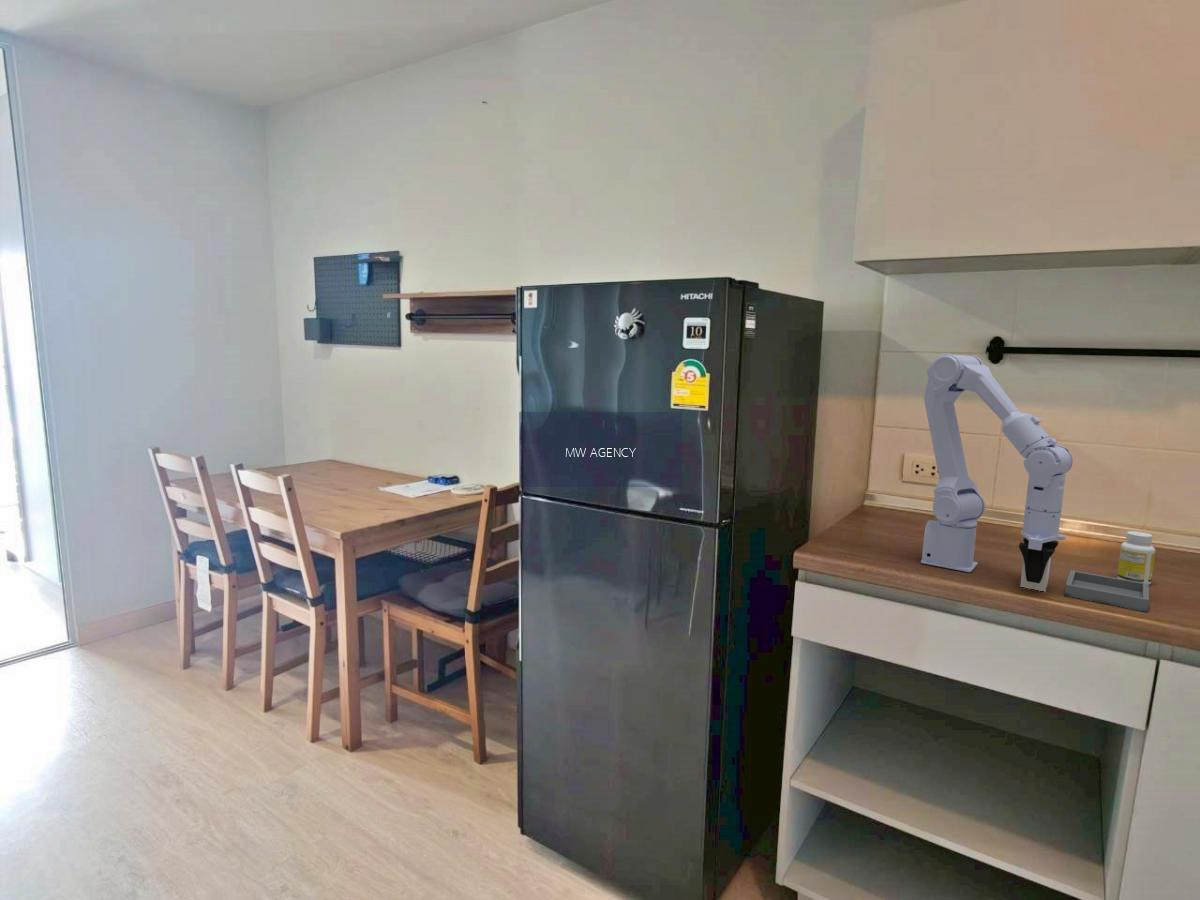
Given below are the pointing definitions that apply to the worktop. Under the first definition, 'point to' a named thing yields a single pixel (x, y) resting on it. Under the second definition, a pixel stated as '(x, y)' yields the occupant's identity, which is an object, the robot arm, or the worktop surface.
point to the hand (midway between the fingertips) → (1034, 579)
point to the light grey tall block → (1036, 586)
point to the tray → (1108, 590)
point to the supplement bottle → (1136, 558)
